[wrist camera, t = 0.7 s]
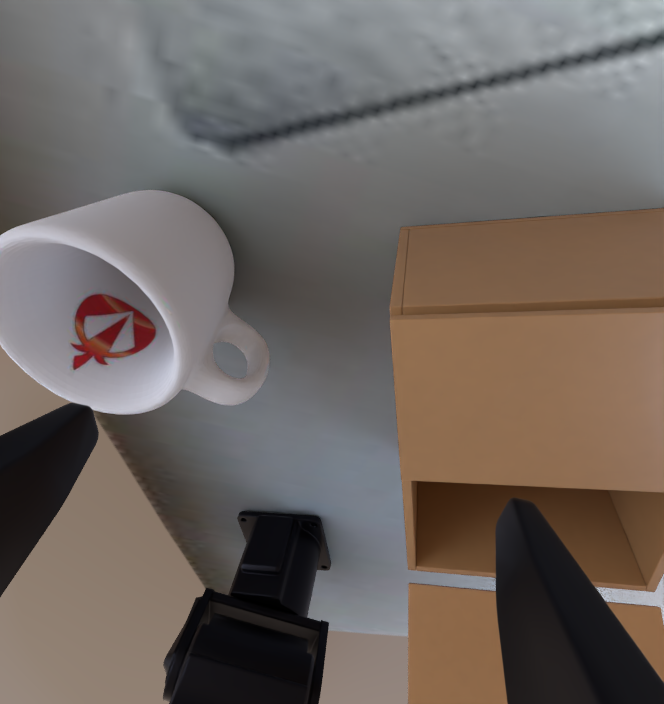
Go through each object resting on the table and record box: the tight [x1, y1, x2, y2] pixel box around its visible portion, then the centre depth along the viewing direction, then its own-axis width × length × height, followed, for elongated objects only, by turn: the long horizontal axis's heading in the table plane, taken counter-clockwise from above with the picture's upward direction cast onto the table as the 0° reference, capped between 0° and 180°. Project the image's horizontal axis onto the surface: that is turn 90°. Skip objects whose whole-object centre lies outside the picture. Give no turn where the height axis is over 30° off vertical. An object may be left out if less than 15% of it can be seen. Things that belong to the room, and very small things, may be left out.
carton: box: [390, 208, 664, 592], centre depth 20 cm, size 15×11×8 cm
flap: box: [408, 583, 664, 704], centre depth 19 cm, size 7×11×1 cm
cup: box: [0, 190, 270, 414], centre depth 20 cm, size 11×8×8 cm
